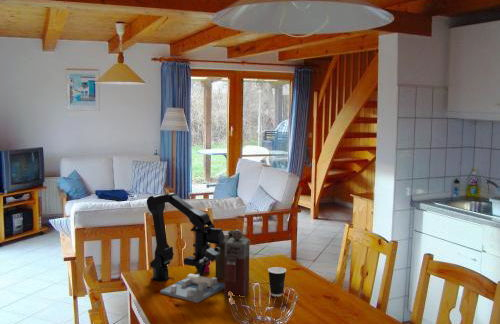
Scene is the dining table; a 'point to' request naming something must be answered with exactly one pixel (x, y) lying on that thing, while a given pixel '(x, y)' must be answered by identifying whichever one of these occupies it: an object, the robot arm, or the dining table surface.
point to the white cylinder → (200, 280)
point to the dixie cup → (276, 280)
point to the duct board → (195, 292)
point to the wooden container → (223, 257)
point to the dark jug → (237, 265)
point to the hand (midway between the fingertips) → (201, 275)
